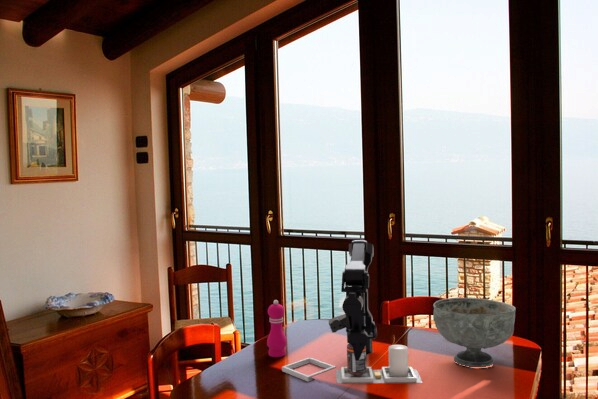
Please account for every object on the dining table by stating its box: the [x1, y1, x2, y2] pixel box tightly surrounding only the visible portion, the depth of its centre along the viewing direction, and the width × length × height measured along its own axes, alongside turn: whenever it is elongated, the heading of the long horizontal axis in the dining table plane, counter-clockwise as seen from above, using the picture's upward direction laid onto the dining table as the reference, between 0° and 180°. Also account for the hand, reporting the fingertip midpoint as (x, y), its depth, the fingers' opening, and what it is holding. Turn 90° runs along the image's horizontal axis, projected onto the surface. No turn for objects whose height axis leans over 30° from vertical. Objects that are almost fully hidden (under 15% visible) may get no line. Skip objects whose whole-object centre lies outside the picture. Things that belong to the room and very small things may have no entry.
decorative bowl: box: [432, 297, 516, 367], centre depth 181 cm, size 26×26×20 cm
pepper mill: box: [266, 299, 288, 358], centre depth 193 cm, size 7×7×20 cm
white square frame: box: [281, 357, 337, 382], centre depth 177 cm, size 13×13×2 cm
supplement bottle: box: [346, 343, 367, 376], centre depth 168 cm, size 6×6×11 cm
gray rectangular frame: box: [335, 366, 423, 384], centre depth 168 cm, size 26×11×2 cm, turn 87°
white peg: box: [388, 344, 409, 377], centre depth 167 cm, size 6×6×9 cm
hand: (356, 356), depth 168 cm, fingers closed on supplement bottle, 6 cm apart
